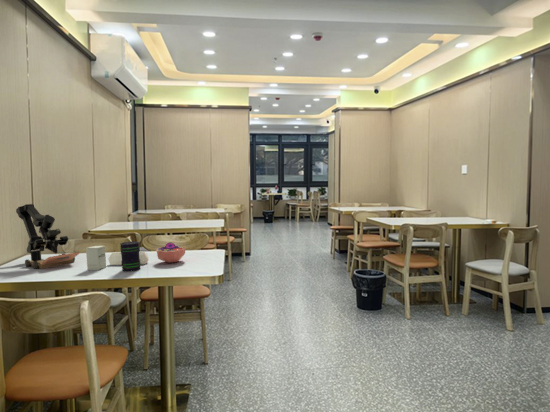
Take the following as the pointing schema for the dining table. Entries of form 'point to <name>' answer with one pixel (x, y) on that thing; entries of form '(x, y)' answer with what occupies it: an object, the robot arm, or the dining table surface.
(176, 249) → the cell model
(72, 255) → the panel
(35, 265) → the cart bed
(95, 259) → the supplement box
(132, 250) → the storage jar
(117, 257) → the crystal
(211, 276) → the dining table surface
